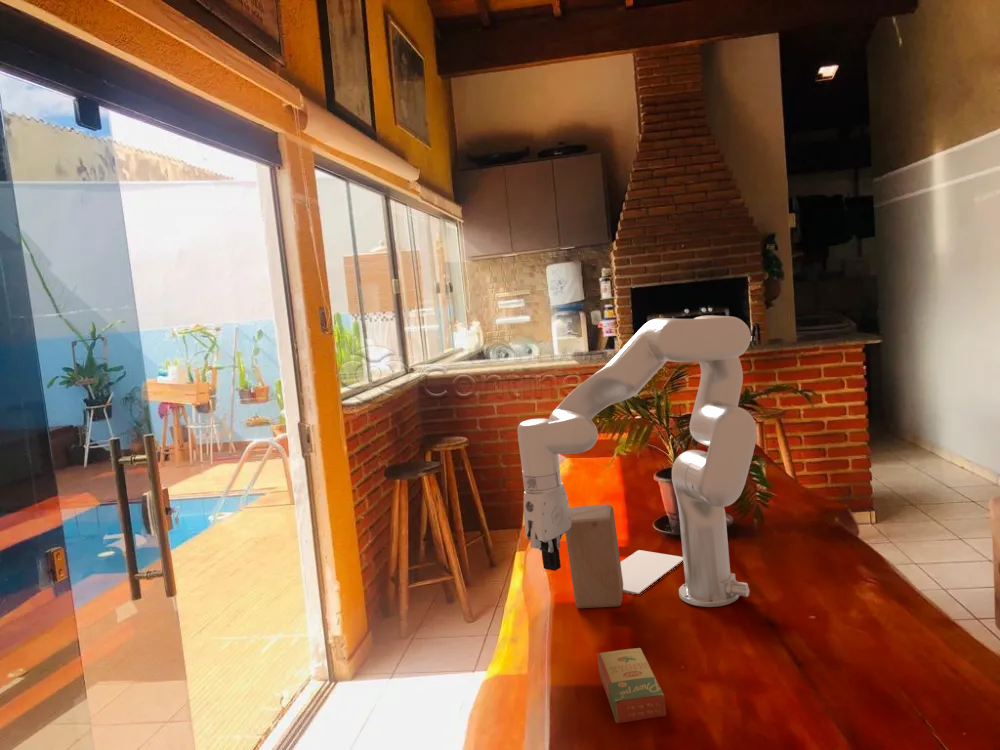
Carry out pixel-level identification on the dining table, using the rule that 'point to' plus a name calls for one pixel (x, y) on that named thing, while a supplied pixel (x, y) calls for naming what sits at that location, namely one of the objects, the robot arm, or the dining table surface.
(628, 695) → the carton
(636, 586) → the white mat
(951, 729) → the dining table surface
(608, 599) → the wooden block
